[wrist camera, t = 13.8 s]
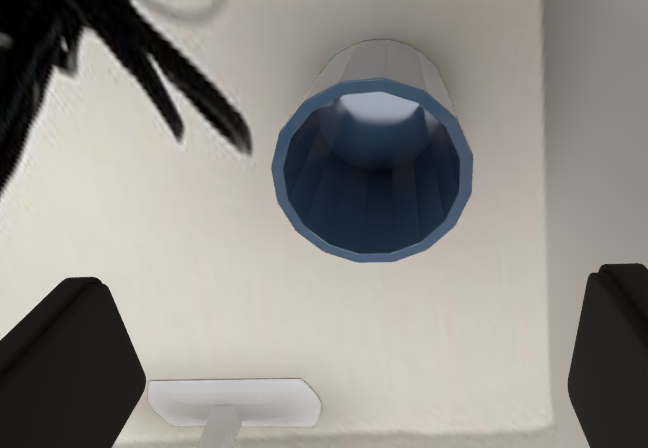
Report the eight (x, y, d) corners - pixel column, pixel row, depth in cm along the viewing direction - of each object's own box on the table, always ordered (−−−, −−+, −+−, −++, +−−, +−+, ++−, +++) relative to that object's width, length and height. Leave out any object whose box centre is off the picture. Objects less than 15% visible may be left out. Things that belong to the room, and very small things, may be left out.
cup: (448, 31, 20) (477, 69, 13) (446, 170, 23) (468, 261, 16) (302, 46, 21) (256, 89, 14) (319, 176, 24) (288, 264, 17)
